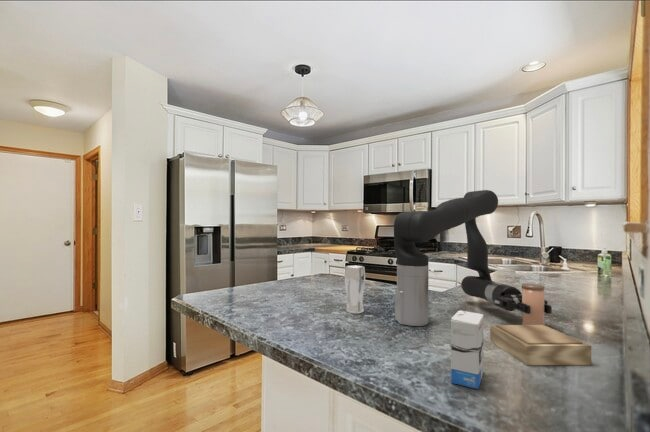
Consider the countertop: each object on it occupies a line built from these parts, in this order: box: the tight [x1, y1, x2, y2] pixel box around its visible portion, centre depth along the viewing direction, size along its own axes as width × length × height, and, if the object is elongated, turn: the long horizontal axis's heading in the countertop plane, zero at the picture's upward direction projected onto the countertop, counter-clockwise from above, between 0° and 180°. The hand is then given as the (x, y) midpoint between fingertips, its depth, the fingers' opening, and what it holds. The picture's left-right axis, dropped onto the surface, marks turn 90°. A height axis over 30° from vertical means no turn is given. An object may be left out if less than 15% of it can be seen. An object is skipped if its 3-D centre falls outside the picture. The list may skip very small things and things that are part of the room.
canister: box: [521, 282, 546, 326], centre depth 89 cm, size 5×5×13 cm
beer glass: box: [344, 264, 366, 314], centre depth 109 cm, size 7×7×15 cm
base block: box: [489, 324, 592, 366], centre depth 75 cm, size 14×14×4 cm
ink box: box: [450, 310, 484, 390], centre depth 62 cm, size 8×5×12 cm, turn 148°
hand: (539, 309), depth 87 cm, fingers closed on canister, 5 cm apart
